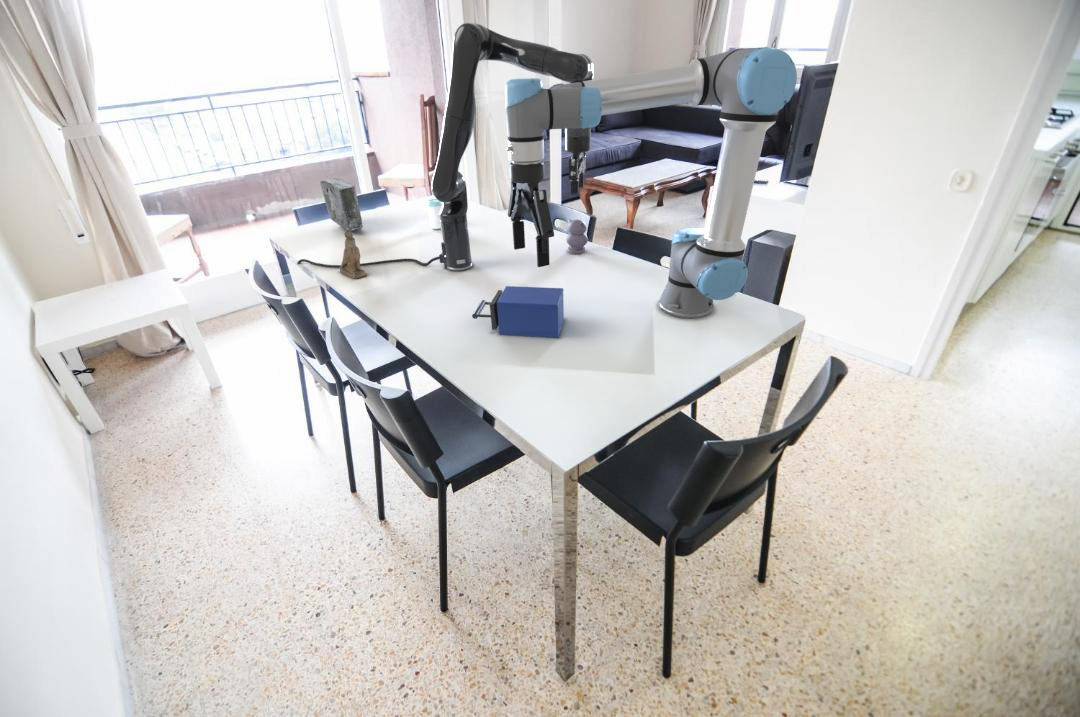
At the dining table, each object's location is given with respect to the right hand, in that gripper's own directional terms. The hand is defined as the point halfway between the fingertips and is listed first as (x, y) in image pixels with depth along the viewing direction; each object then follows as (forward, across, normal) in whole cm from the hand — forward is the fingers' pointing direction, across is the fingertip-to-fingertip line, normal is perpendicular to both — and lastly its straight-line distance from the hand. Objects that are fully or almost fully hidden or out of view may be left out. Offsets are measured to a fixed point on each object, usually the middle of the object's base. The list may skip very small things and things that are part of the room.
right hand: (531, 256), depth 117 cm
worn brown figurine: (+24, -79, -36) cm, 90 cm away
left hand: (-4, -36, +32) cm, 48 cm away
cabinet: (+24, -10, +4) cm, 27 cm away
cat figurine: (+24, -58, +45) cm, 77 cm away
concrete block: (+24, -138, -30) cm, 144 cm away
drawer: (+23, -13, -1) cm, 27 cm away
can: (+24, -117, +6) cm, 120 cm away
